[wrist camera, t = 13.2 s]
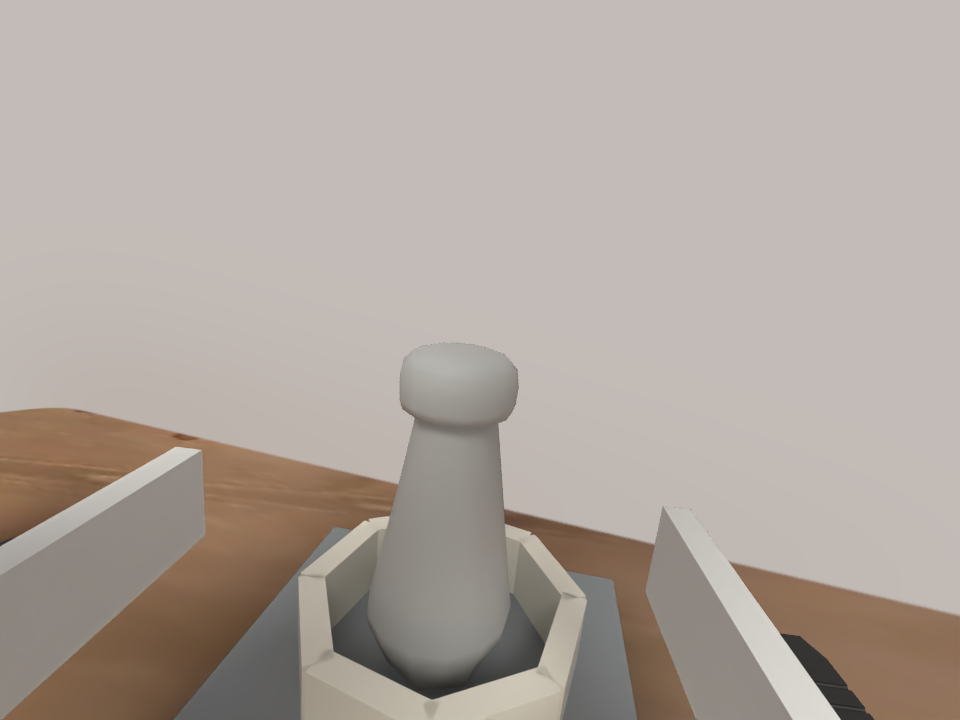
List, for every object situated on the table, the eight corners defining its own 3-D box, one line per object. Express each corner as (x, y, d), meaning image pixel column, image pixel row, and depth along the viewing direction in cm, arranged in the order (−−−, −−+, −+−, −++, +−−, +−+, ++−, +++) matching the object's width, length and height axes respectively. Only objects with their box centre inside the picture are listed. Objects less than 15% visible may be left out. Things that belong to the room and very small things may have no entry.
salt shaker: (345, 625, 20) (354, 334, 17) (455, 581, 23) (479, 331, 20) (404, 746, 15) (430, 376, 12) (531, 669, 19) (576, 363, 16)
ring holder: (628, 730, 17) (642, 663, 16) (305, 863, 12) (305, 778, 12) (500, 546, 26) (505, 499, 26) (296, 583, 22) (296, 528, 21)
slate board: (609, 598, 25) (612, 579, 24) (663, 945, 12) (671, 914, 12) (334, 544, 27) (334, 526, 27) (140, 791, 14) (137, 762, 14)
